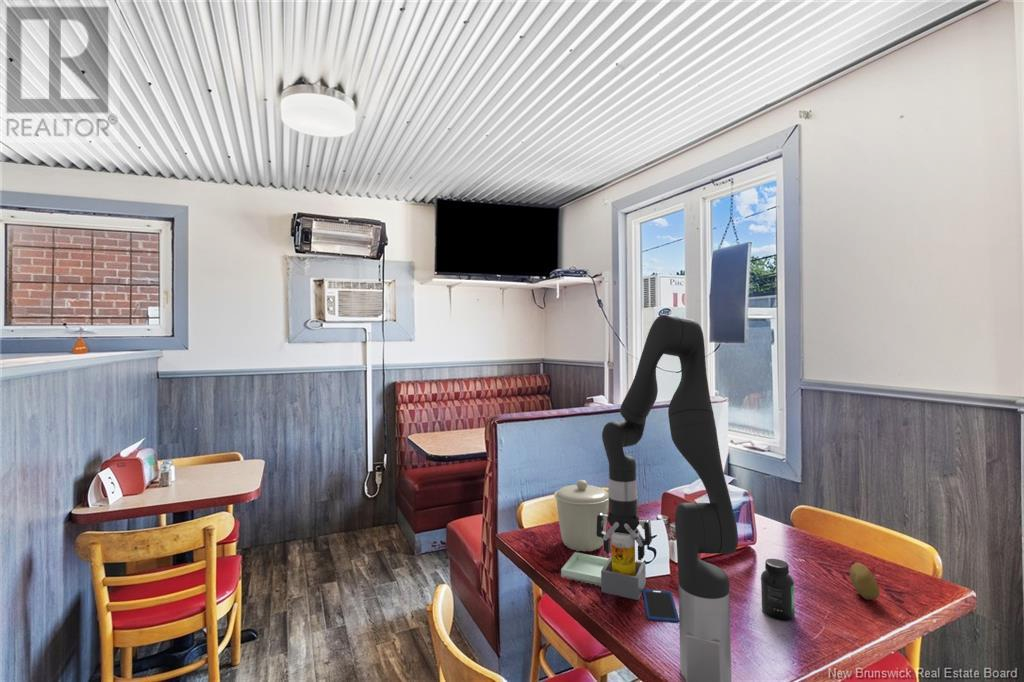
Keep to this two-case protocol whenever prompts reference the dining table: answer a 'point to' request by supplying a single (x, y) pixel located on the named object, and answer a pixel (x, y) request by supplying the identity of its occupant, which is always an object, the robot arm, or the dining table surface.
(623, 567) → the beer can
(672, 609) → the cell phone
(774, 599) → the supplement bottle
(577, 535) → the canister
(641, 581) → the holder
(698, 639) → the robot arm
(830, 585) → the dining table surface
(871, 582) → the potato
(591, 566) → the tray
